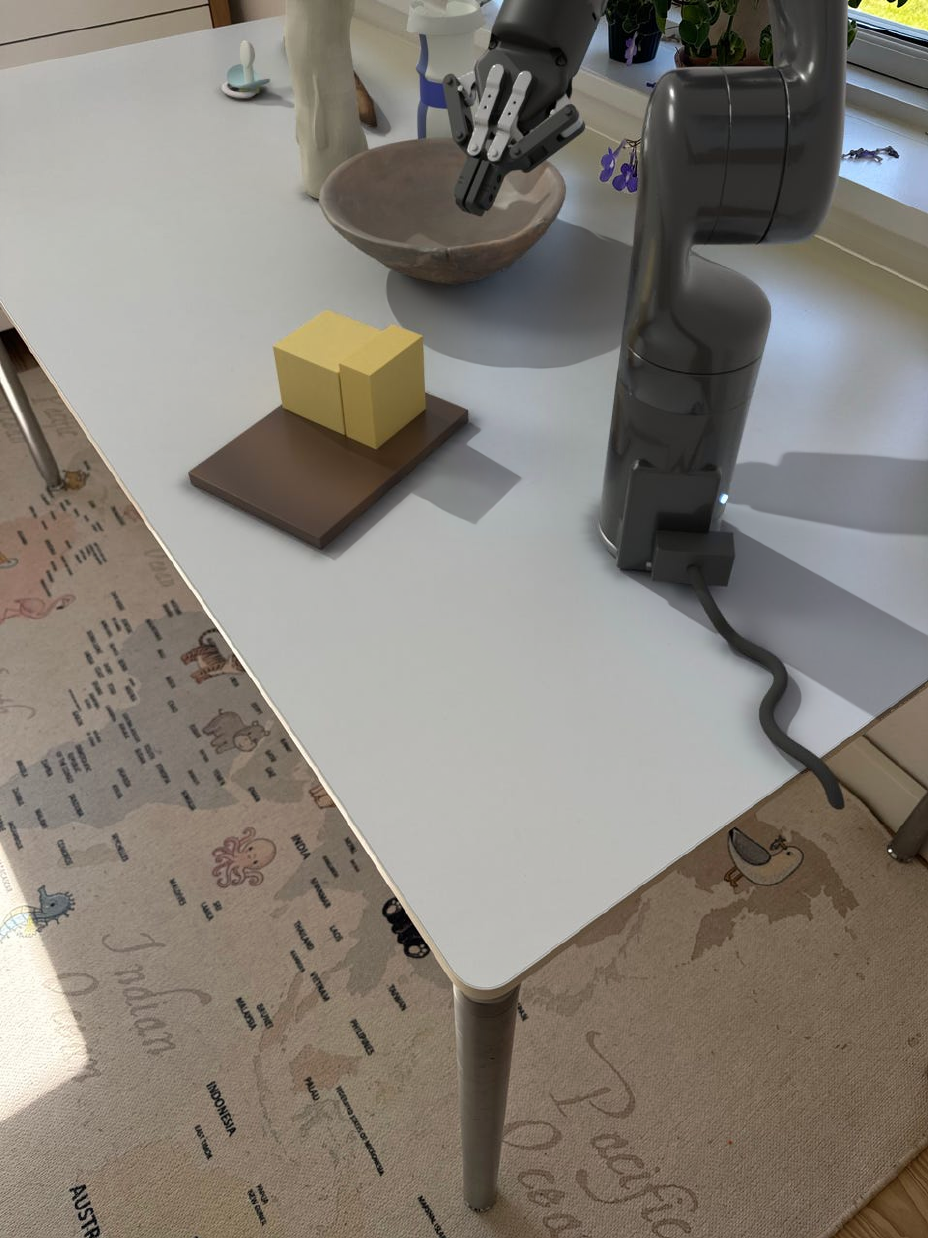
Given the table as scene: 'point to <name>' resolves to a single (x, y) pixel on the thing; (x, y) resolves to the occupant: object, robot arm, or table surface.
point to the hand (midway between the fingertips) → (468, 209)
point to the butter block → (318, 366)
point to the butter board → (319, 469)
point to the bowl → (436, 211)
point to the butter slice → (383, 385)
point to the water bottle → (443, 59)
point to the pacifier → (244, 75)
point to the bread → (364, 103)
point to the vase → (323, 87)
